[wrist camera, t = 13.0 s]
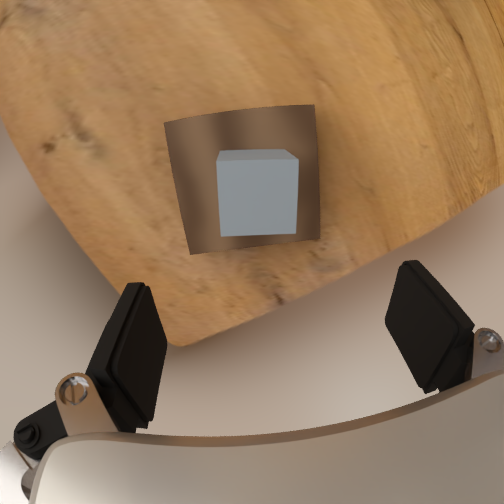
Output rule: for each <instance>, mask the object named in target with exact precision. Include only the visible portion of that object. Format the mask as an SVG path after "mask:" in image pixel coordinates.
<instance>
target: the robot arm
mask: <svg viewBox="0 0 504 504" xmlns="http://www.w3.org/2000/svg"><path fill="white" fill-rule="evenodd" d="M385 325H386V327H387V329H388V331H389V332H390V334H391V336H392V337H393V339H394V341H395V343H396V345H397V346H398V348H399V350H400V352H401V354H402V356H403V358H404V360H405V361H406V363H407V365H408V367H409V369H410V371H411V373H412V375H413V377H414V379H415V381H416V383H417V384H418V386H419V387H420V388H422V389H423V391H424V393H425V394H427V393H430V392H432V391H435V390H436V389H437V388H438V389H439V393H438V394H435V395H433V396H430V397H428V398H425V399H422V400H419V401H417V402H414V403H411V404H408V405H405V406H402V407H399V408H395V409H392V410H389V411H385V412H382V413H378V414H375V415H371V416H367V417H363V418H359V419H355V420H351V421H346V422H342V423H337V424H332V425H327V426H322V427H316V428H310V429H303V430H297V431H290V432H281V433H271V434H261V435H248V436H247V435H246V436H220V437H197V436H195V437H193V436H166V435H152V434H139V433H136V428H145V429H147V428H148V422H149V421H152V420H153V418H154V412H155V406H156V401H157V395H158V390H159V385H160V379H161V374H162V369H163V365H164V360H165V355H166V350H167V339H166V336H165V333H164V330H163V327H162V324H161V321H160V318H159V315H158V312H157V309H156V306H155V303H154V300H153V296H152V293H151V290H150V287H149V286H145V284H144V283H143V282H137V283H128V284H127V285H126V287H125V289H124V291H123V293H122V295H121V297H120V299H119V301H118V303H117V305H116V307H115V309H114V312H113V313H112V316H111V318H110V320H109V321H108V322H107V324H106V326H105V329H104V331H103V333H102V335H101V337H100V340H99V342H98V344H97V347H96V349H95V351H94V353H93V356H92V358H91V360H90V363H89V365H88V368H87V370H86V373H85V374H83V373H72V374H69V375H67V376H66V377H64V378H63V379H62V380H61V381H60V382H59V383H58V385H57V387H56V390H55V399H56V400H55V401H53V402H52V403H50V404H48V405H47V406H45V407H43V408H42V409H40V410H38V411H36V412H34V413H33V414H31V415H29V416H28V417H26V418H24V419H23V420H21V421H20V422H19V423H18V425H17V426H16V428H15V430H14V442H13V443H12V442H11V441H9V442H8V443H7V444H6V446H4V447H3V449H2V450H1V451H0V504H504V342H503V340H502V338H501V337H500V336H499V334H498V333H496V332H495V331H494V330H491V329H489V328H480V329H478V330H477V331H476V332H475V334H474V333H473V332H472V330H473V328H474V326H475V324H474V323H473V322H472V321H471V319H470V318H469V317H468V316H467V314H466V313H465V312H464V311H463V310H462V309H461V307H460V306H459V305H458V304H457V302H456V301H455V300H454V299H453V298H452V297H451V296H450V294H449V293H448V292H447V291H446V290H445V289H444V288H443V287H442V285H440V283H439V282H438V281H437V280H436V279H435V278H434V277H433V276H432V274H430V272H429V271H428V270H427V269H426V268H425V267H424V266H423V265H422V264H421V263H420V262H419V261H418V260H410V261H404V262H403V264H402V265H401V266H400V267H399V269H398V273H397V277H396V281H395V285H394V289H393V293H392V296H391V299H390V303H389V307H388V310H387V313H386V316H385Z"/></svg>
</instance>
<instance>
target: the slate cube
mask: <svg viewBox="0 0 504 504" xmlns="http://www.w3.org/2000/svg"><path fill="white" fill-rule="evenodd" d="M216 165H217V184H218V202H219V217H220V232H221V237H223V236H246V235H271V234H296V221H297V200H298V172H299V159H297V158H296V157H295V156H293V155H292V154H291V153H289V152H288V151H286V150H285V149H252V150H225V151H220V152H219V155H218V158H217V161H216Z"/></svg>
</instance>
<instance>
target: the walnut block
mask: <svg viewBox="0 0 504 504" xmlns="http://www.w3.org/2000/svg"><path fill="white" fill-rule="evenodd" d="M164 127H165V133H166V139H167V145H168V151H169V156H170V162H171V167H172V172H173V178H174V183H175V188H176V193H177V198H178V202H179V207H180V212H181V216H182V221H183V225H184V230H185V234H186V239H187V243H188V247H189V251H190V255H193V254H201V253H209V252H216V251H224V250H232V249H240V248H248V247H256V246H264V245H272V244H280V243H288V242H296V241H305V240H313V239H320V191H319V166H318V147H317V132H316V119H315V107H314V105H290V106H274V107H262V108H252V109H243V110H234V111H227V112H220V113H213V114H207V115H201V116H195V117H189V118H184V119H179V120H174V121H169V122H165V123H164ZM252 149H285V150H286V151H288V152H289V153H291V154H292V155H293V156H295V157H296V158H297V159H299V172H298V200H297V221H296V234H271V235H246V236H223V237H221V232H220V217H219V202H218V184H217V165H216V161H217V158H218V155H219V152H220V151H225V150H252Z"/></svg>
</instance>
